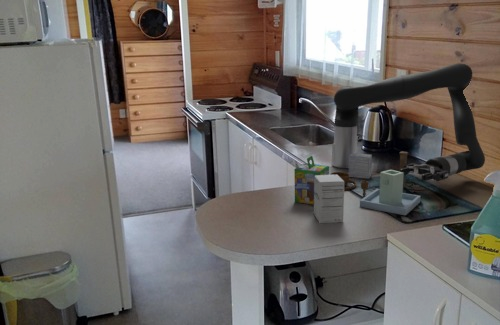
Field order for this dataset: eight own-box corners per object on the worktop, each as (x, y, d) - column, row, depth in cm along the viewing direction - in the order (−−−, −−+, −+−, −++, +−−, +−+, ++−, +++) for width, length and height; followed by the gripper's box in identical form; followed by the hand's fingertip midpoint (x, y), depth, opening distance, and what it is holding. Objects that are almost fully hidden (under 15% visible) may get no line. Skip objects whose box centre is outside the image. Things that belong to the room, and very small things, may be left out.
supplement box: (313, 214, 143) (313, 174, 140) (337, 213, 144) (338, 173, 141) (318, 223, 136) (319, 181, 133) (343, 222, 137) (345, 180, 134)
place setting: (362, 182, 177) (362, 167, 175) (370, 199, 157) (371, 182, 156) (315, 182, 178) (315, 167, 177) (317, 199, 159) (318, 182, 158)
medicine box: (371, 176, 183) (372, 154, 181) (369, 179, 179) (370, 157, 177) (351, 174, 186) (351, 153, 184) (348, 177, 182) (349, 155, 180)
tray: (359, 206, 150) (360, 200, 149) (376, 194, 161) (377, 188, 160) (405, 215, 141) (406, 208, 141) (420, 202, 153) (420, 195, 152)
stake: (397, 187, 168) (399, 152, 165) (399, 185, 170) (401, 151, 167) (403, 188, 167) (406, 153, 164) (406, 186, 169) (408, 152, 166)
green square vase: (376, 202, 151) (378, 172, 149) (389, 198, 154) (390, 169, 152) (389, 206, 147) (391, 176, 145) (401, 202, 150) (403, 172, 148)
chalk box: (319, 206, 150) (320, 161, 147) (293, 202, 155) (293, 158, 151) (329, 198, 158) (330, 155, 154) (304, 194, 163) (305, 152, 159)
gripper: (424, 153, 168) (394, 160, 159) (461, 160, 157) (430, 168, 148) (423, 173, 170) (393, 181, 161) (459, 182, 158) (429, 191, 150)
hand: (411, 175), depth 155 cm, fingers open, 8 cm apart
